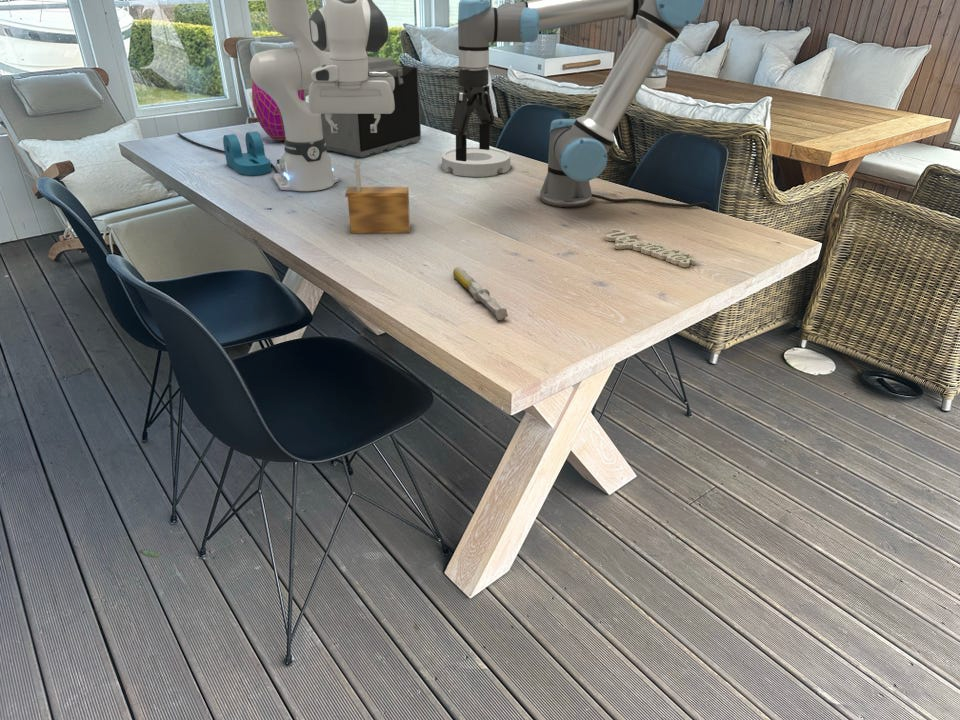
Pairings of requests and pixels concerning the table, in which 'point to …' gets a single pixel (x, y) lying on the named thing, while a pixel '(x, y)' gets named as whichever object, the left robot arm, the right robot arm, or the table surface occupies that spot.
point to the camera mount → (246, 154)
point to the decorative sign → (649, 248)
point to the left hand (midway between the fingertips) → (354, 132)
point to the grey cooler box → (390, 127)
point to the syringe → (479, 293)
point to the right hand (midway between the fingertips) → (473, 155)
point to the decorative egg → (269, 112)
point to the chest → (379, 214)
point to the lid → (373, 188)
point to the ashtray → (477, 162)
